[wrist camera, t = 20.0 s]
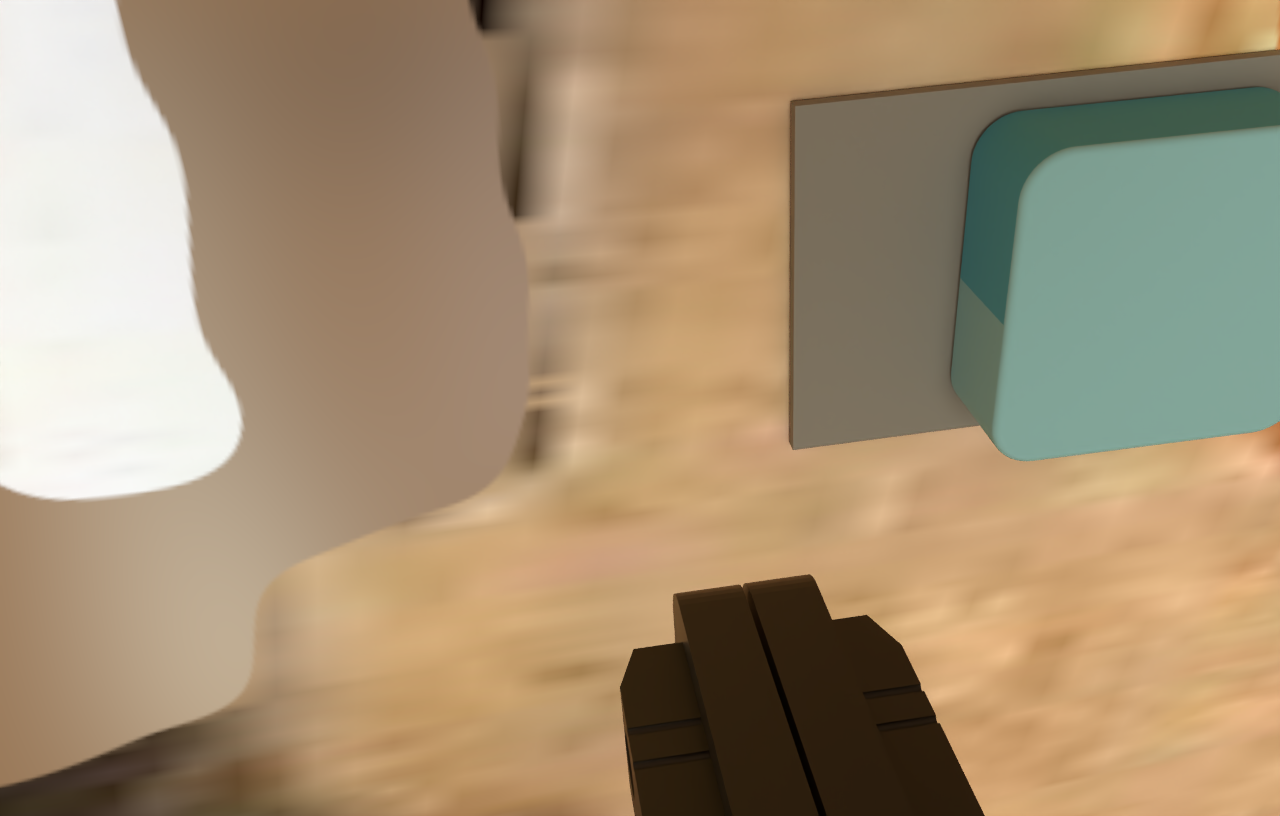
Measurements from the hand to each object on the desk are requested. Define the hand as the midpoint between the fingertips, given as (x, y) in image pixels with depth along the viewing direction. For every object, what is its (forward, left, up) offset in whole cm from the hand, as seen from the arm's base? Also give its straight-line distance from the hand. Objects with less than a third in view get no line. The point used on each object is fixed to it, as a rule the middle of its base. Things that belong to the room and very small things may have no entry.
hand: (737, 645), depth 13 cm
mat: (+10, +18, -29) cm, 36 cm away
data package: (+10, +14, -26) cm, 31 cm away
